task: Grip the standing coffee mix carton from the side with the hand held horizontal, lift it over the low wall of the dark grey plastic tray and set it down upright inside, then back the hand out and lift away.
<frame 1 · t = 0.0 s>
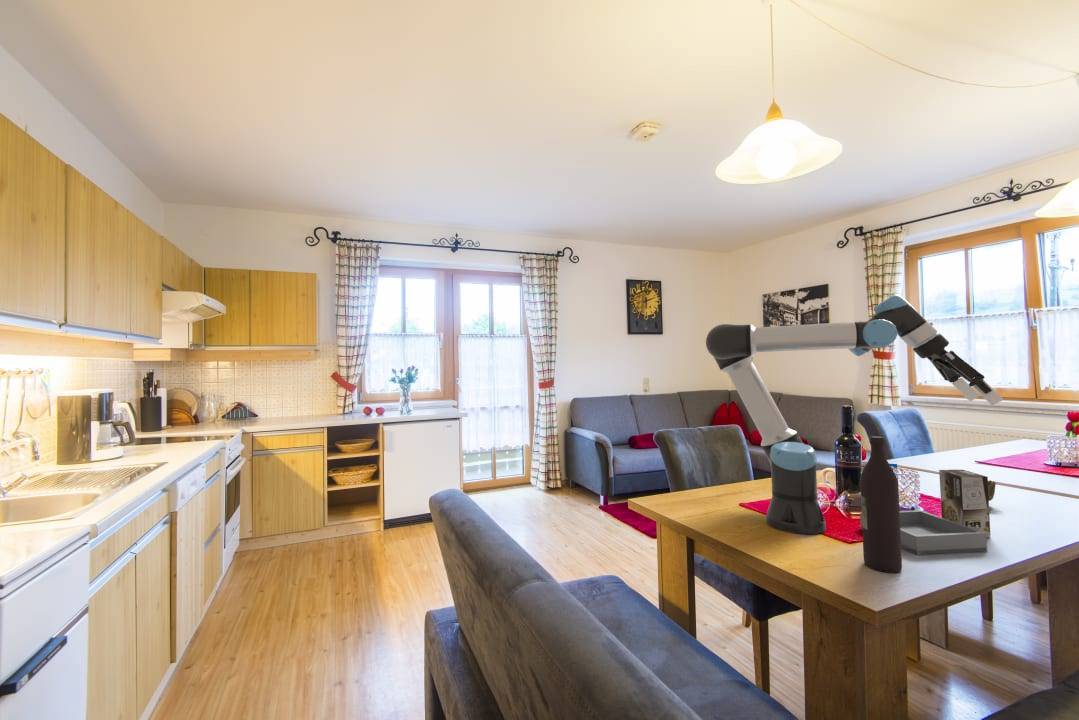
hand: (985, 400, 123), 36 cm above the table, tool tilted 35°, fingers open, 13 cm apart
tray: (919, 539, 119), on the table
coffee box: (965, 531, 124), on the table
cup: (980, 505, 145), on the table
wine bottle: (882, 567, 104), on the table
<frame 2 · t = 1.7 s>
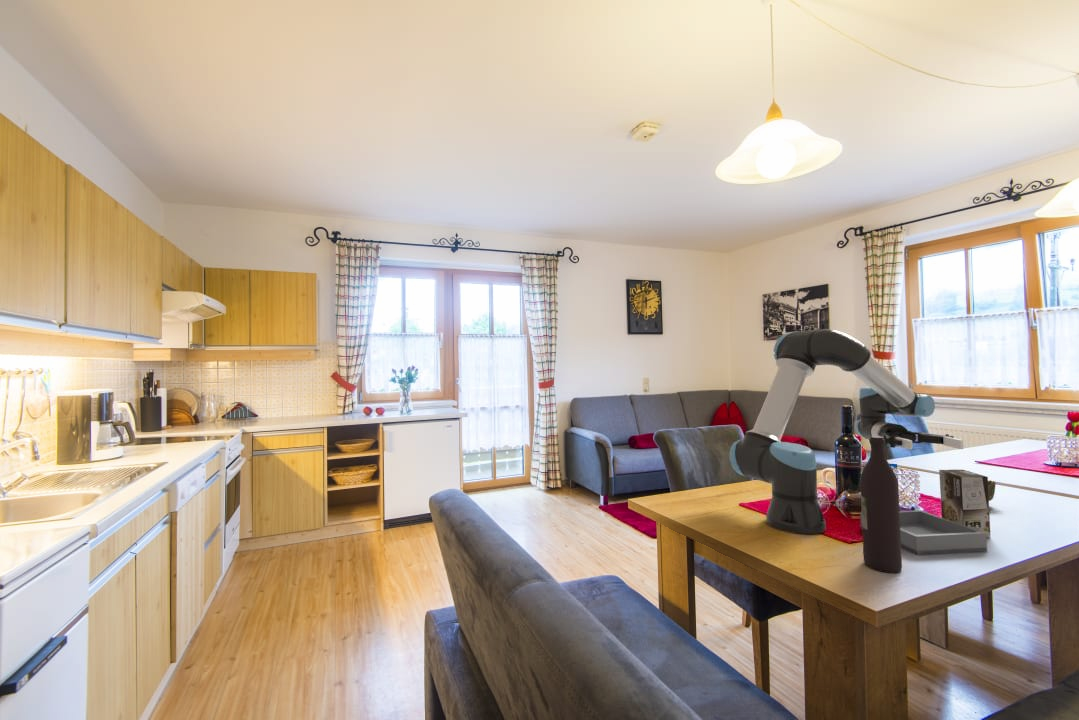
hand: (936, 444, 133), 22 cm above the table, tool horizontal, fingers open, 13 cm apart
nothing on the table moved.
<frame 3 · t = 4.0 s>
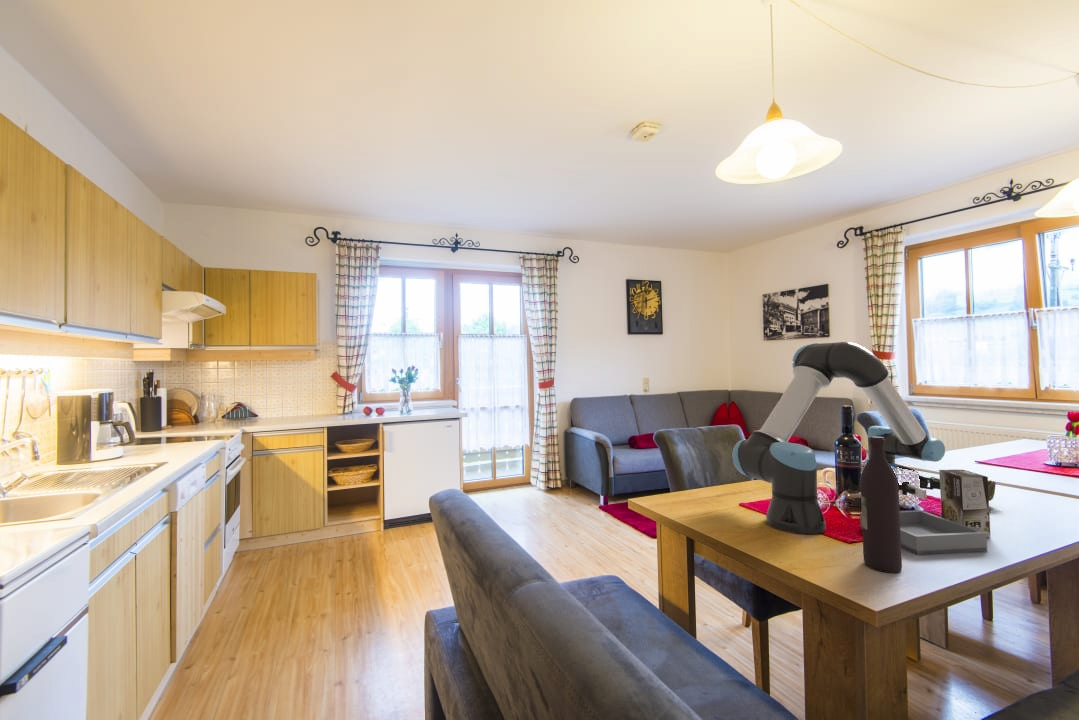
hand: (950, 494, 129), 8 cm above the table, tool horizontal, fingers open, 13 cm apart
nothing on the table moved.
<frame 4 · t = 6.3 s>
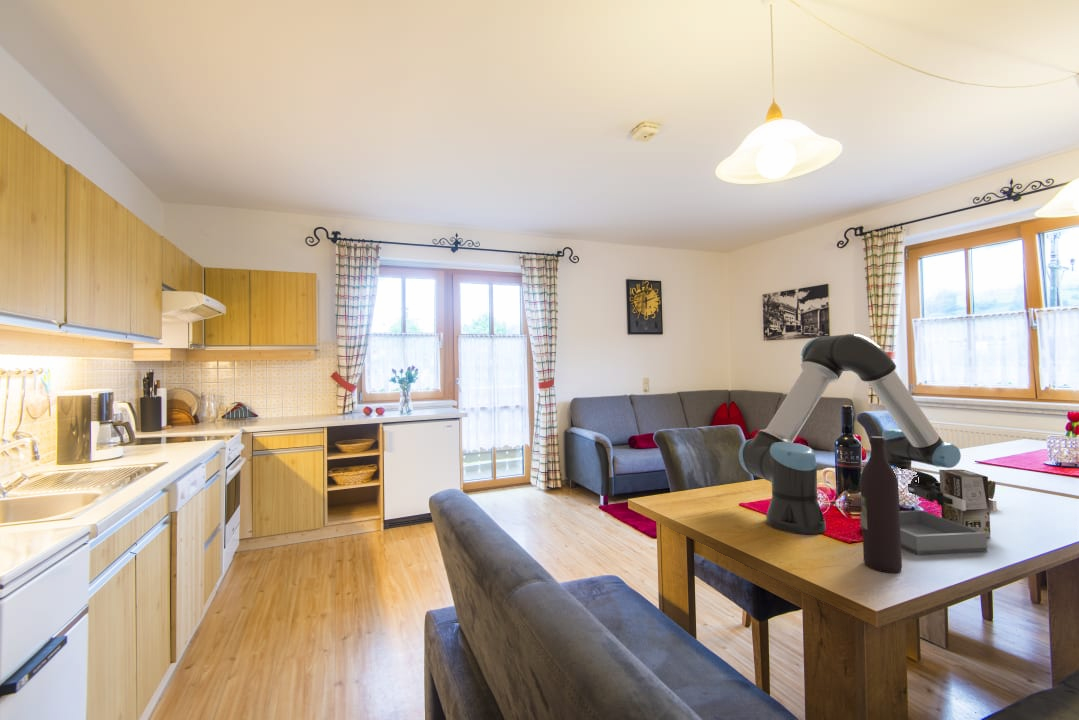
hand: (979, 505, 119), 9 cm above the table, tool horizontal, fingers closed on coffee box, 7 cm apart
coffee box: (965, 531, 124), on the table, touching gripper
everything else where it was.
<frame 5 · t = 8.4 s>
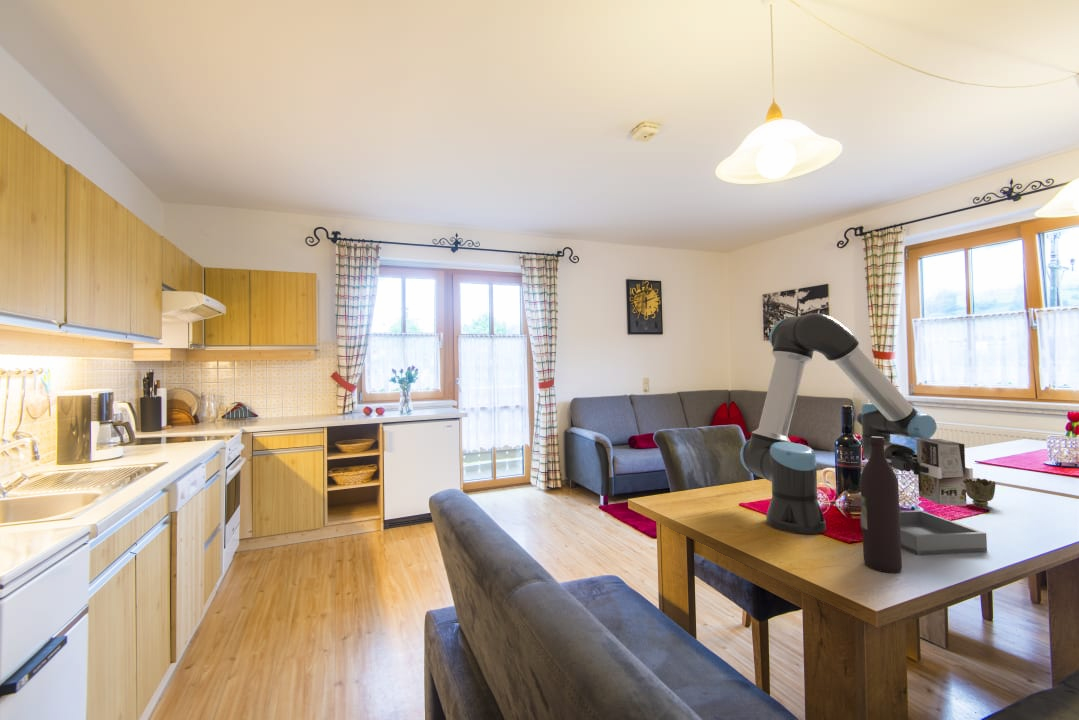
hand: (955, 473, 116), 18 cm above the table, tool horizontal, fingers closed on coffee box, 7 cm apart
coffee box: (941, 501, 121), point 9 cm above the table, touching gripper
everything else where it was.
when the fingers open (11 cm above the table, at t = 10.6 s): coffee box drops 1 cm, resting on tray.
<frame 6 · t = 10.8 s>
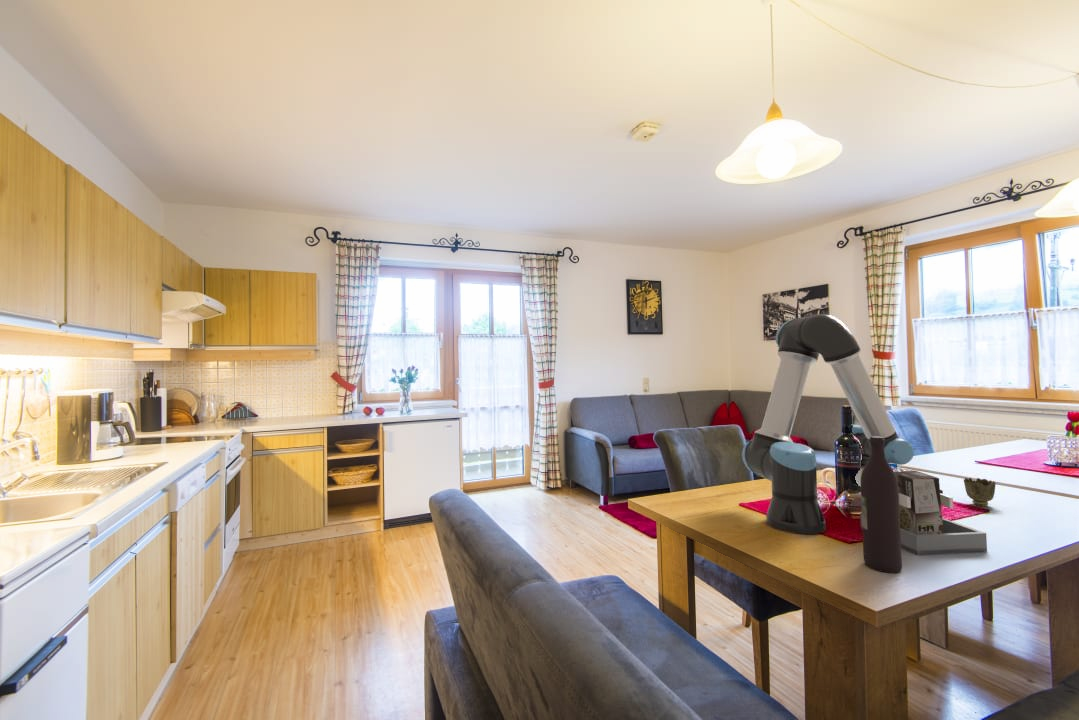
hand: (930, 502, 115), 11 cm above the table, tool horizontal, fingers open, 9 cm apart
coffee box: (919, 536, 119), point 1 cm above the table, touching tray
everything else where it was.
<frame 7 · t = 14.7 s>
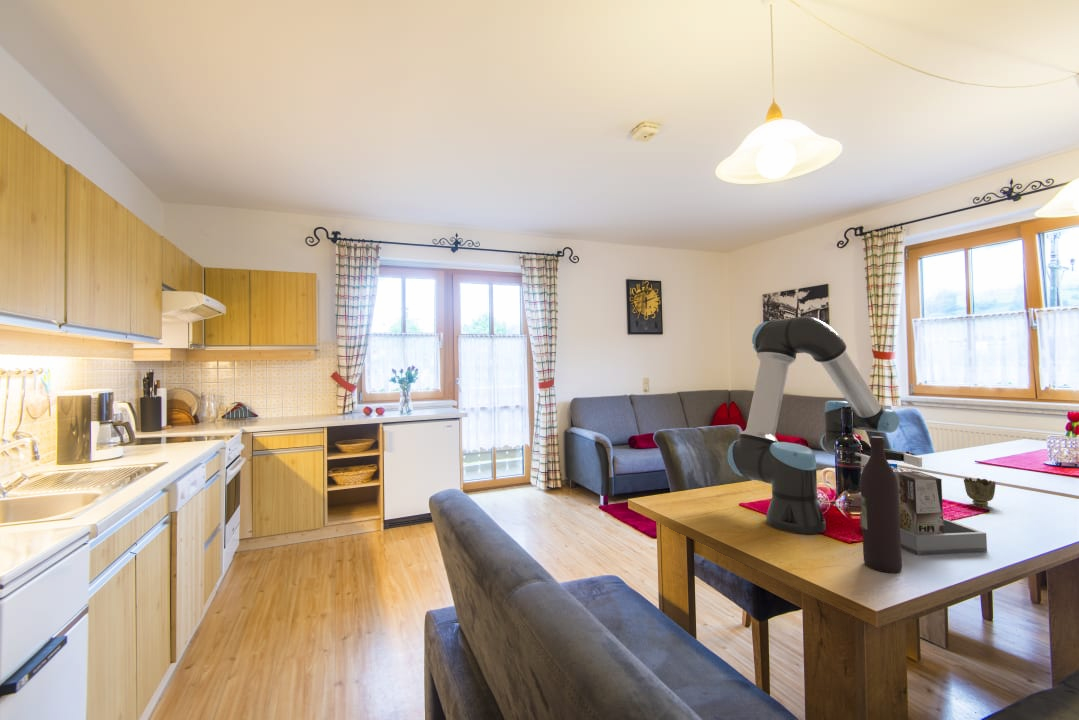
hand: (894, 461, 129), 18 cm above the table, tool horizontal, fingers open, 13 cm apart
nothing on the table moved.
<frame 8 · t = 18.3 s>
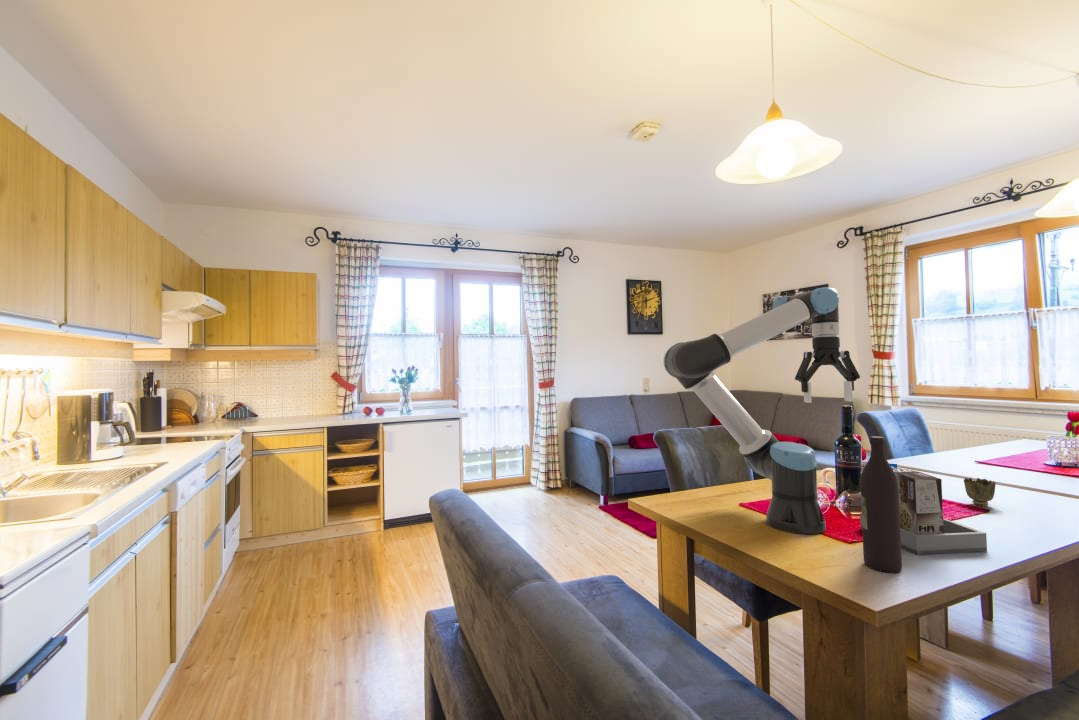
hand: (828, 402, 145), 35 cm above the table, tool pointing down, fingers open, 13 cm apart
nothing on the table moved.
at the end: coffee box inside the target area on the tray (0.1 cm from its centre), point 0.8 cm above the tray's base; coffee box tilted 0°; the gripper is holding nothing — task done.
